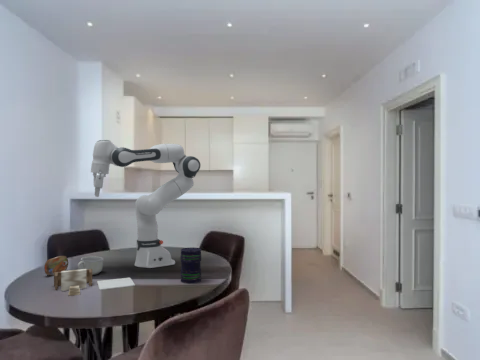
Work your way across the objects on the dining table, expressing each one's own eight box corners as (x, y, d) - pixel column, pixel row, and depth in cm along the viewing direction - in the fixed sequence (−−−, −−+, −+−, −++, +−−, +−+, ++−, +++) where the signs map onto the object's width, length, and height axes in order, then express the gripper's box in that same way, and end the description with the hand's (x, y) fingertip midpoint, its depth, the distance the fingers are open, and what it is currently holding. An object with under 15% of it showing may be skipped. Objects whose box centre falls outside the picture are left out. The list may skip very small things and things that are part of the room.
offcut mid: (79, 291, 155) (79, 288, 155) (79, 293, 152) (79, 290, 152) (69, 292, 153) (69, 289, 153) (69, 294, 150) (69, 291, 150)
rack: (92, 281, 171) (92, 268, 171) (93, 285, 165) (93, 272, 165) (54, 285, 164) (54, 272, 164) (53, 290, 158) (53, 276, 158)
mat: (130, 278, 177) (130, 277, 177) (135, 285, 164) (135, 284, 164) (97, 281, 171) (97, 281, 171) (99, 290, 158) (99, 289, 158)
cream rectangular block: (86, 286, 163) (86, 268, 163) (86, 288, 161) (86, 270, 161) (61, 289, 159) (61, 271, 159) (61, 291, 157) (61, 272, 157)
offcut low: (79, 293, 155) (79, 290, 155) (80, 296, 152) (80, 293, 152) (68, 295, 153) (68, 292, 153) (68, 297, 150) (68, 294, 150)
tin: (48, 277, 178) (48, 260, 178) (43, 277, 179) (43, 260, 179) (68, 270, 193) (68, 254, 193) (63, 269, 194) (63, 254, 194)
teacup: (95, 270, 193) (95, 255, 193) (107, 273, 187) (107, 257, 187) (70, 275, 182) (70, 259, 182) (82, 279, 176) (82, 262, 176)
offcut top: (79, 288, 154) (79, 285, 154) (79, 290, 152) (79, 287, 152) (69, 289, 153) (69, 286, 153) (69, 291, 150) (69, 288, 150)
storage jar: (181, 278, 178) (181, 247, 178) (201, 277, 179) (201, 247, 179) (179, 283, 168) (179, 251, 168) (201, 283, 169) (201, 251, 169)
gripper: (107, 171, 184) (104, 198, 184) (105, 170, 203) (102, 195, 203) (94, 169, 182) (90, 196, 181) (93, 169, 200) (89, 194, 200)
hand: (96, 196), depth 192 cm, fingers open, 8 cm apart
